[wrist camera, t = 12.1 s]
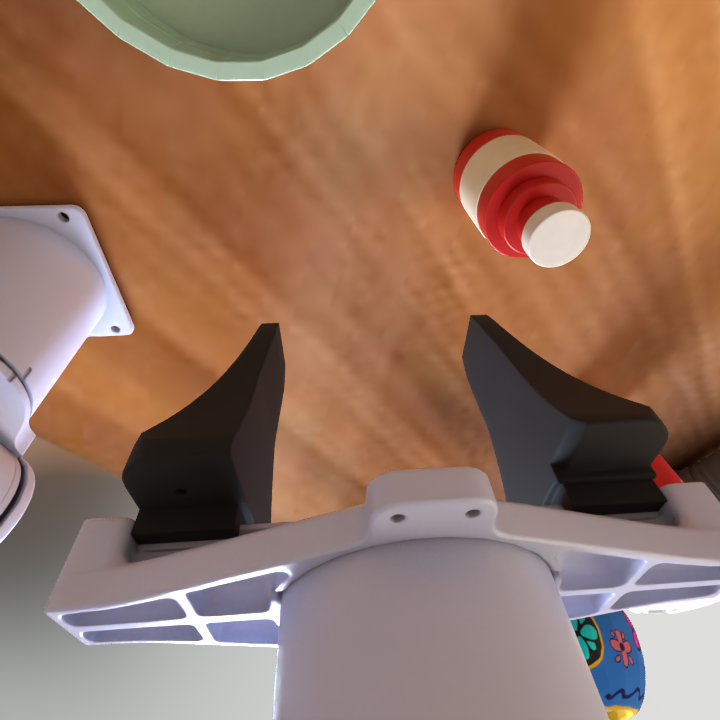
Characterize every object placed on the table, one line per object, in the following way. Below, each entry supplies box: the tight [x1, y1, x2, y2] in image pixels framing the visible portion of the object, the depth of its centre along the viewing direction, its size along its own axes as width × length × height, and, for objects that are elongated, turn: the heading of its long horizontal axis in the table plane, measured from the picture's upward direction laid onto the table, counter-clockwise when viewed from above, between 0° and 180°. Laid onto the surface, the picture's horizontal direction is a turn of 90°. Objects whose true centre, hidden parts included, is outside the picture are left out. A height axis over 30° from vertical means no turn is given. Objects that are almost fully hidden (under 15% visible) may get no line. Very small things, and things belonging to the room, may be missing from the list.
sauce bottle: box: [453, 128, 591, 267], centre depth 19 cm, size 4×4×8 cm
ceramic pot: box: [570, 610, 645, 720], centre depth 49 cm, size 18×18×15 cm
